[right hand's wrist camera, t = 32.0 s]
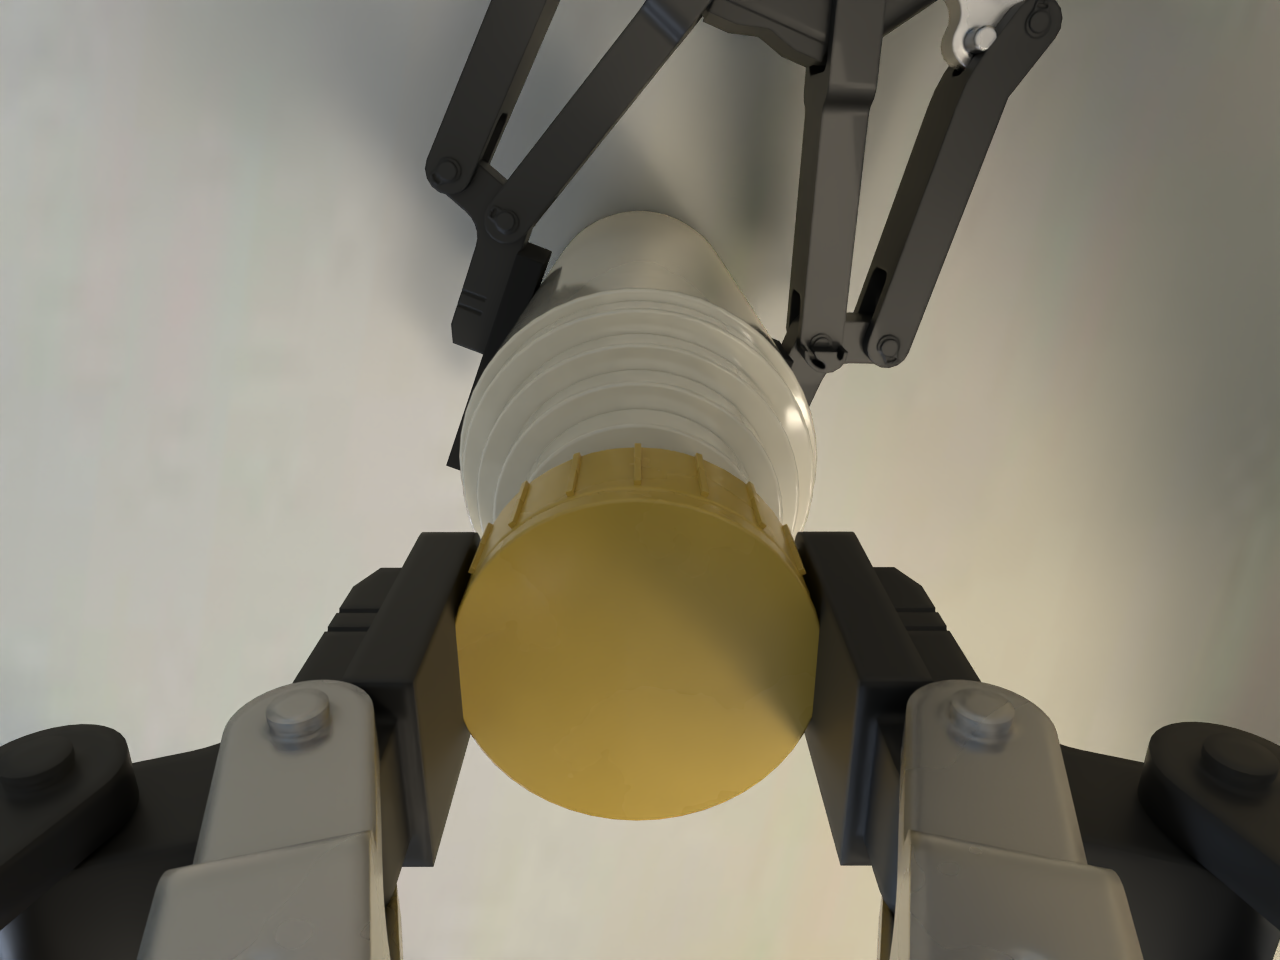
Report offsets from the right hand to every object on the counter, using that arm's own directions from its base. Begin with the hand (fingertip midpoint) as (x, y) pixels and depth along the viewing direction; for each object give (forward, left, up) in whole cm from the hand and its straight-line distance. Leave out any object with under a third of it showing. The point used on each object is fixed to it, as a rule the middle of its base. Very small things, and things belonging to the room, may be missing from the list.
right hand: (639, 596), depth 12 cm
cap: (0, 0, +2) cm, 2 cm away
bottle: (0, 0, -22) cm, 22 cm away
